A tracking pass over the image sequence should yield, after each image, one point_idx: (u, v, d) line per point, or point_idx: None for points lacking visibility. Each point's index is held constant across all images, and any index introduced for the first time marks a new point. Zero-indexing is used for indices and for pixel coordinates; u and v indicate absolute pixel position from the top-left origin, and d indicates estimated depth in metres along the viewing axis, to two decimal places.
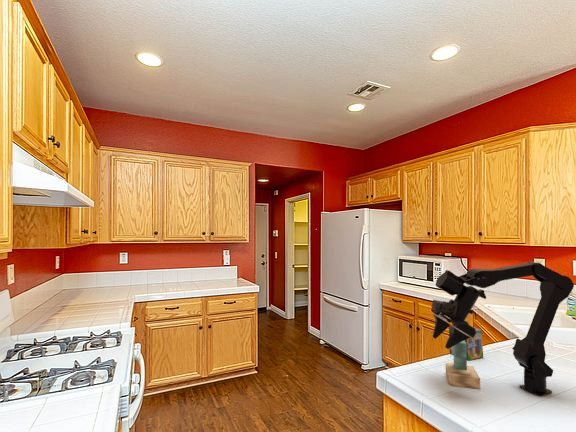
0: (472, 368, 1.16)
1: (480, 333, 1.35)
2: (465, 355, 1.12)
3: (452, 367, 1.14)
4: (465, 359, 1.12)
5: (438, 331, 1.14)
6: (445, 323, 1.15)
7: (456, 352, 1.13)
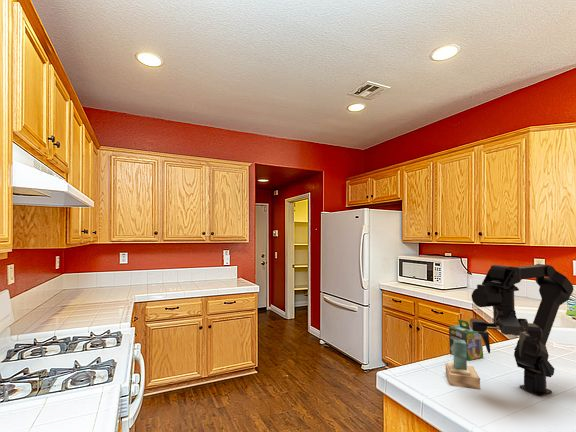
0: (472, 368, 1.16)
1: None
2: (465, 355, 1.12)
3: (452, 367, 1.14)
4: (465, 359, 1.12)
5: (488, 344, 1.05)
6: None
7: (456, 352, 1.13)
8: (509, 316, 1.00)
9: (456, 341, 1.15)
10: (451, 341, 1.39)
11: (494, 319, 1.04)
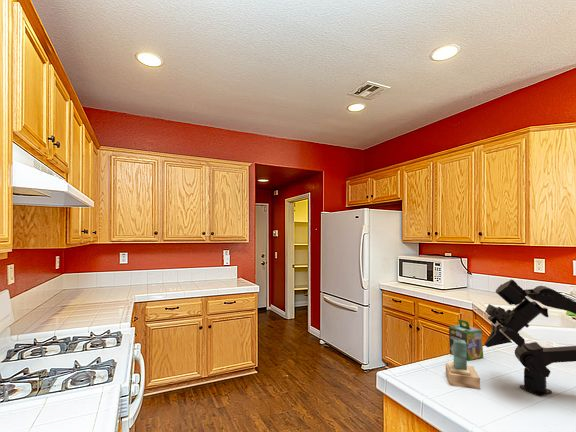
0: (472, 368, 1.16)
1: (480, 333, 1.35)
2: (465, 355, 1.12)
3: (452, 367, 1.14)
4: (465, 359, 1.12)
5: None
6: None
7: (456, 352, 1.13)
8: (505, 312, 1.10)
9: (456, 341, 1.15)
10: (451, 341, 1.39)
11: None
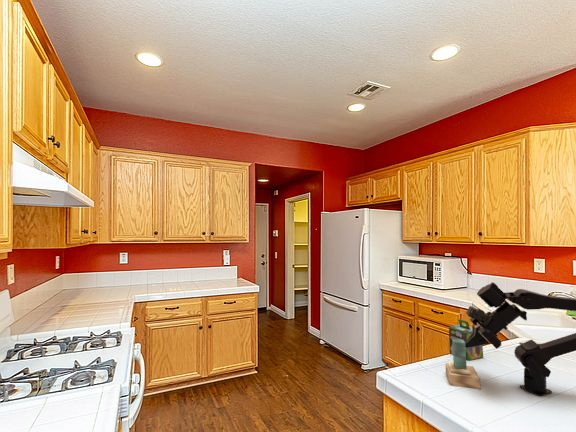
0: (472, 368, 1.16)
1: None
2: (464, 354, 1.13)
3: (452, 367, 1.14)
4: (465, 358, 1.12)
5: None
6: None
7: (455, 352, 1.13)
8: (485, 314, 1.12)
9: (455, 341, 1.15)
10: (451, 341, 1.39)
11: None
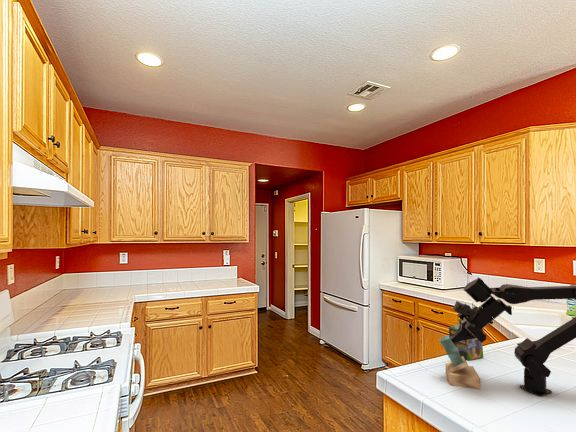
0: (472, 368, 1.16)
1: None
2: (455, 349, 1.14)
3: (451, 366, 1.15)
4: (457, 353, 1.13)
5: None
6: None
7: (446, 350, 1.14)
8: (471, 309, 1.14)
9: (441, 339, 1.16)
10: None
11: None
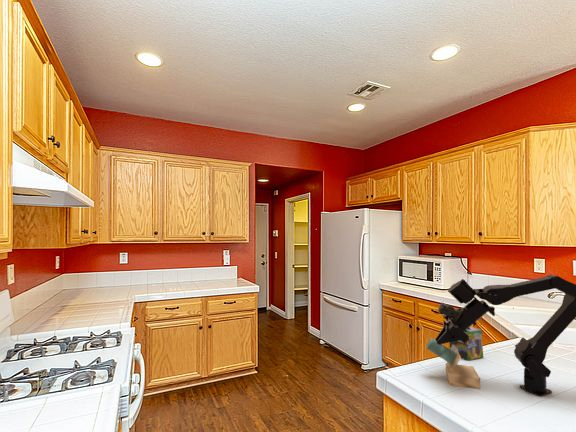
0: (472, 368, 1.16)
1: (480, 333, 1.35)
2: (442, 348, 1.15)
3: (450, 365, 1.15)
4: (446, 350, 1.14)
5: (442, 336, 1.18)
6: None
7: (436, 353, 1.15)
8: (456, 310, 1.15)
9: (427, 346, 1.18)
10: None
11: None
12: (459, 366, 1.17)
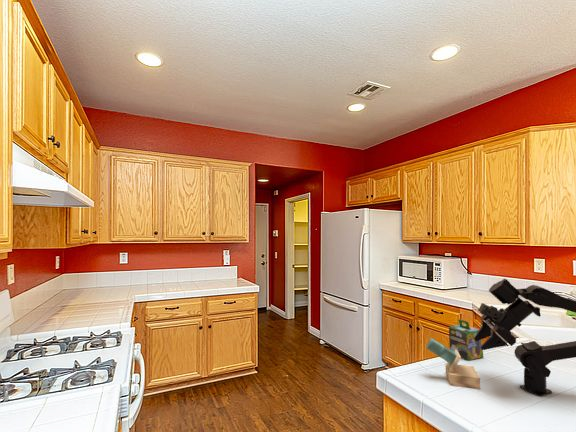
0: (472, 368, 1.16)
1: None
2: (442, 348, 1.15)
3: (449, 365, 1.15)
4: (446, 350, 1.14)
5: (481, 335, 1.17)
6: (491, 330, 1.16)
7: (436, 353, 1.15)
8: (498, 311, 1.11)
9: (427, 346, 1.18)
10: (451, 341, 1.39)
11: None
12: (459, 366, 1.17)
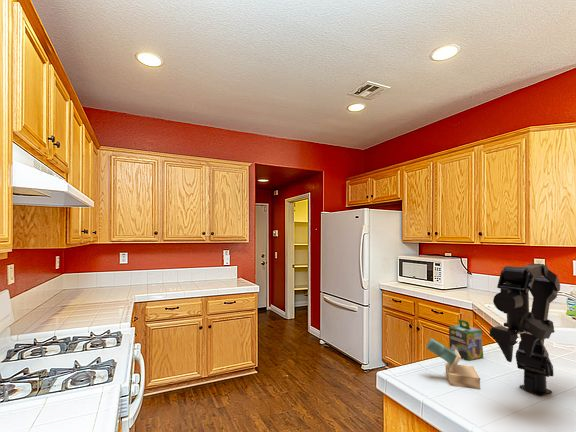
0: (472, 368, 1.16)
1: (480, 333, 1.35)
2: (442, 348, 1.15)
3: (449, 365, 1.15)
4: (446, 350, 1.14)
5: None
6: None
7: (436, 353, 1.15)
8: (532, 319, 0.97)
9: (427, 346, 1.18)
10: (451, 341, 1.39)
11: (514, 324, 0.99)
12: (459, 366, 1.17)
